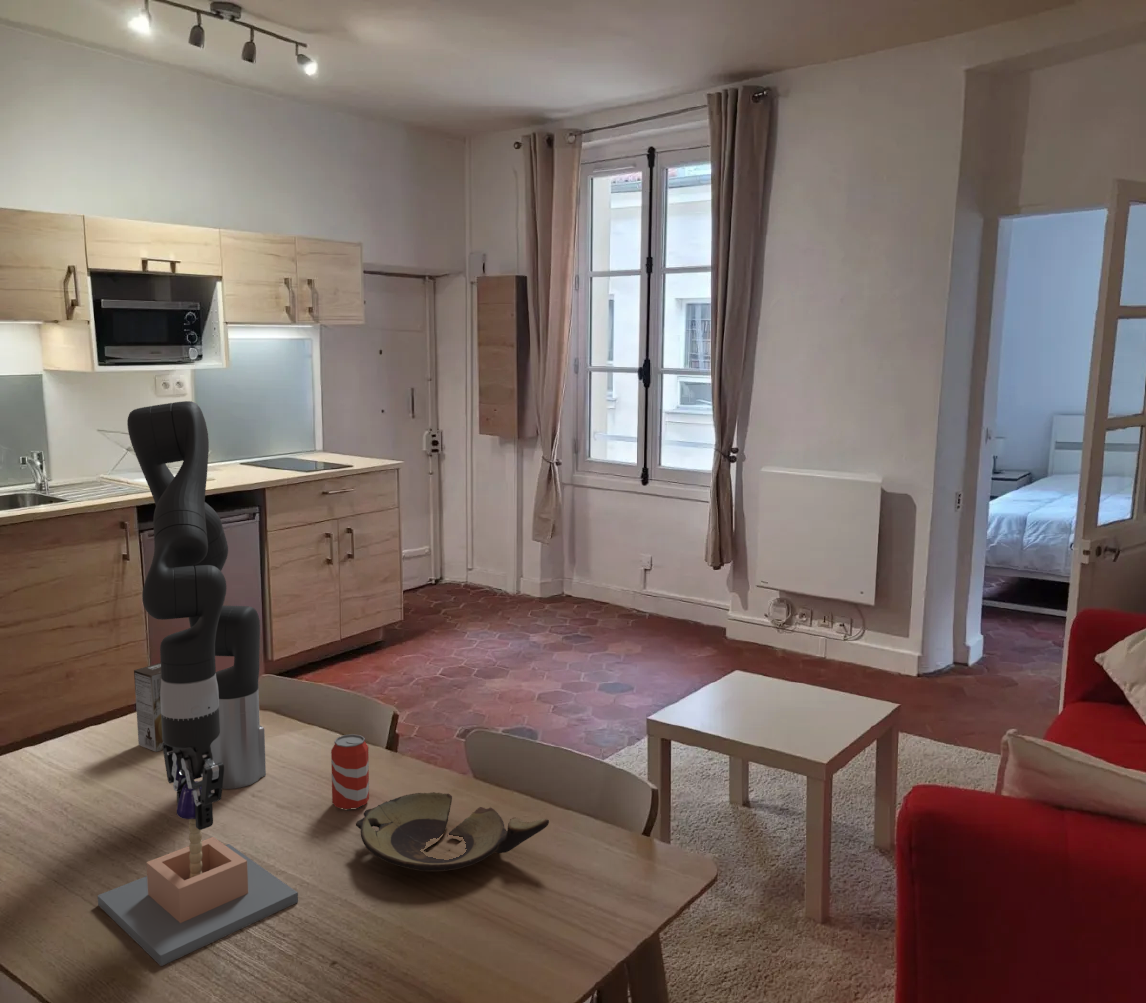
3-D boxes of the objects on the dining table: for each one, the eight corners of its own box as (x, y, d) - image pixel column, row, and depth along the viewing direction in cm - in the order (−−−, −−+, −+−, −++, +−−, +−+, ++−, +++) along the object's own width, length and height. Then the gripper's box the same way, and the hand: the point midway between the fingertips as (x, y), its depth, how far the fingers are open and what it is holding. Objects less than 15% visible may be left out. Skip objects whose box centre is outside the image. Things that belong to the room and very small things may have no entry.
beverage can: (357, 814, 161) (356, 749, 159) (325, 808, 163) (324, 743, 161) (375, 799, 166) (374, 736, 165) (344, 794, 168) (343, 731, 167)
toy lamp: (222, 888, 135) (217, 780, 132) (199, 905, 130) (195, 794, 128) (195, 882, 136) (190, 775, 134) (172, 898, 132) (167, 788, 129)
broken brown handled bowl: (418, 806, 164) (417, 765, 163) (563, 853, 149) (563, 808, 148) (326, 863, 145) (325, 817, 144) (482, 922, 130) (482, 872, 129)
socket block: (229, 852, 147) (227, 814, 146) (298, 902, 134) (296, 860, 133) (98, 905, 133) (95, 862, 132) (161, 966, 119) (158, 920, 118)
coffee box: (177, 731, 195) (174, 658, 193) (196, 738, 192) (193, 663, 190) (137, 745, 188) (133, 669, 185) (155, 753, 184) (151, 675, 182)
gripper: (241, 712, 127) (245, 828, 130) (192, 687, 137) (196, 796, 139) (188, 728, 122) (193, 848, 124) (140, 700, 131) (146, 813, 134)
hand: (195, 820), depth 132 cm, fingers open, 5 cm apart
